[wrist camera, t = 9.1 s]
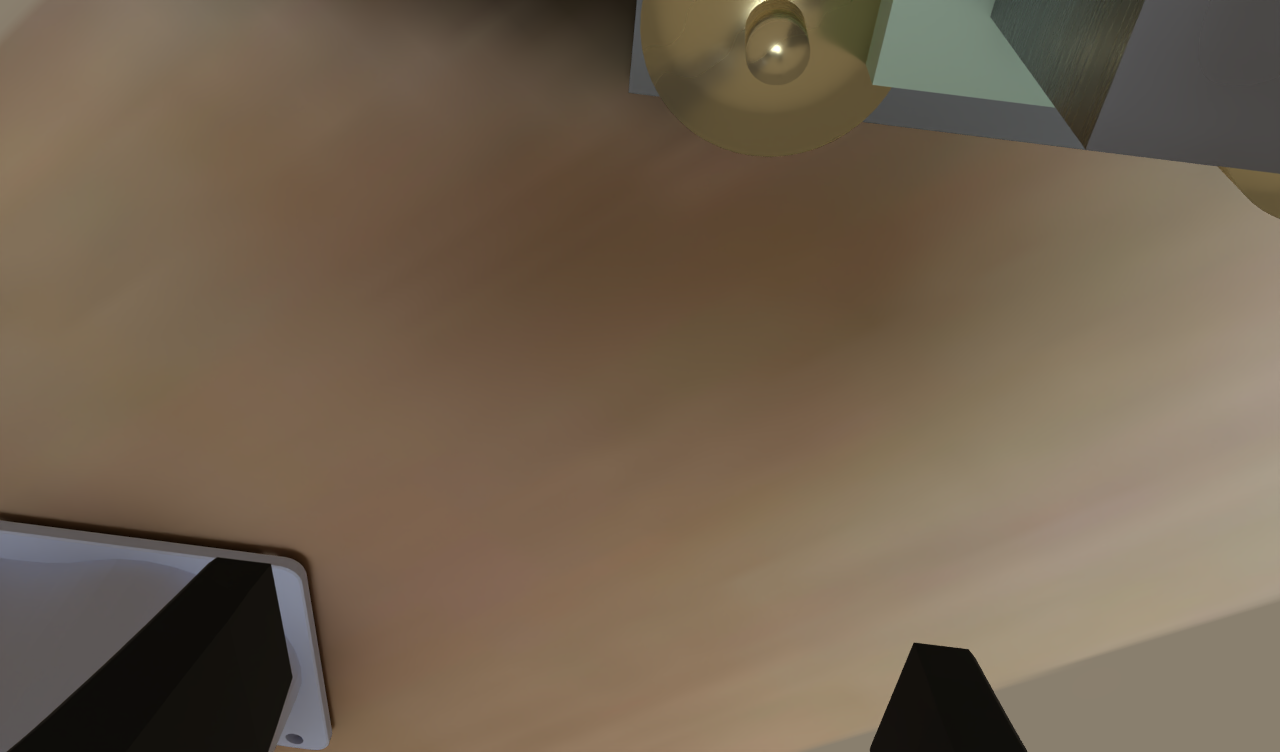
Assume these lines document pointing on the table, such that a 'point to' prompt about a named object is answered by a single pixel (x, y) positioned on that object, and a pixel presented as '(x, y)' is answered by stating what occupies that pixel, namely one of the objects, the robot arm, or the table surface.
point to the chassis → (817, 82)
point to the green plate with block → (1104, 69)
